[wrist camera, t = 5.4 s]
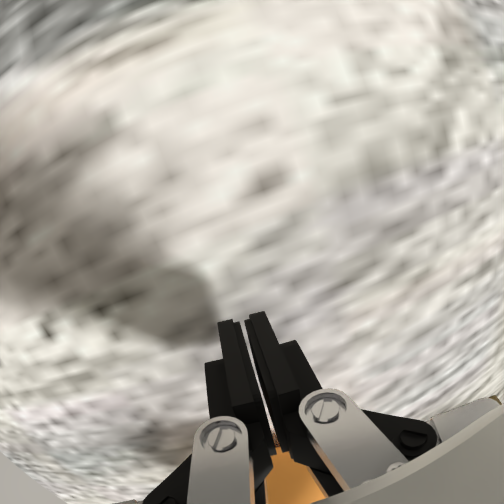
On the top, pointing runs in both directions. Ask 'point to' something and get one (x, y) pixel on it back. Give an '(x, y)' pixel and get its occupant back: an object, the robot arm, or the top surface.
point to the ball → (290, 482)
